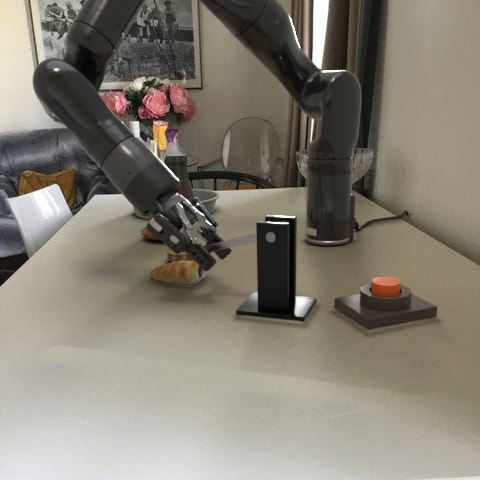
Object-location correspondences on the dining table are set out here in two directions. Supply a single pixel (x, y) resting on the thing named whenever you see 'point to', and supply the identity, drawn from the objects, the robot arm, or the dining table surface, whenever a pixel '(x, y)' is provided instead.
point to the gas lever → (231, 242)
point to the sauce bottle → (179, 169)
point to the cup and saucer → (149, 232)
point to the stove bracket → (277, 273)
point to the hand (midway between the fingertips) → (219, 260)
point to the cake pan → (204, 196)
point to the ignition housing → (384, 308)
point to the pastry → (179, 272)
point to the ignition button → (385, 286)
